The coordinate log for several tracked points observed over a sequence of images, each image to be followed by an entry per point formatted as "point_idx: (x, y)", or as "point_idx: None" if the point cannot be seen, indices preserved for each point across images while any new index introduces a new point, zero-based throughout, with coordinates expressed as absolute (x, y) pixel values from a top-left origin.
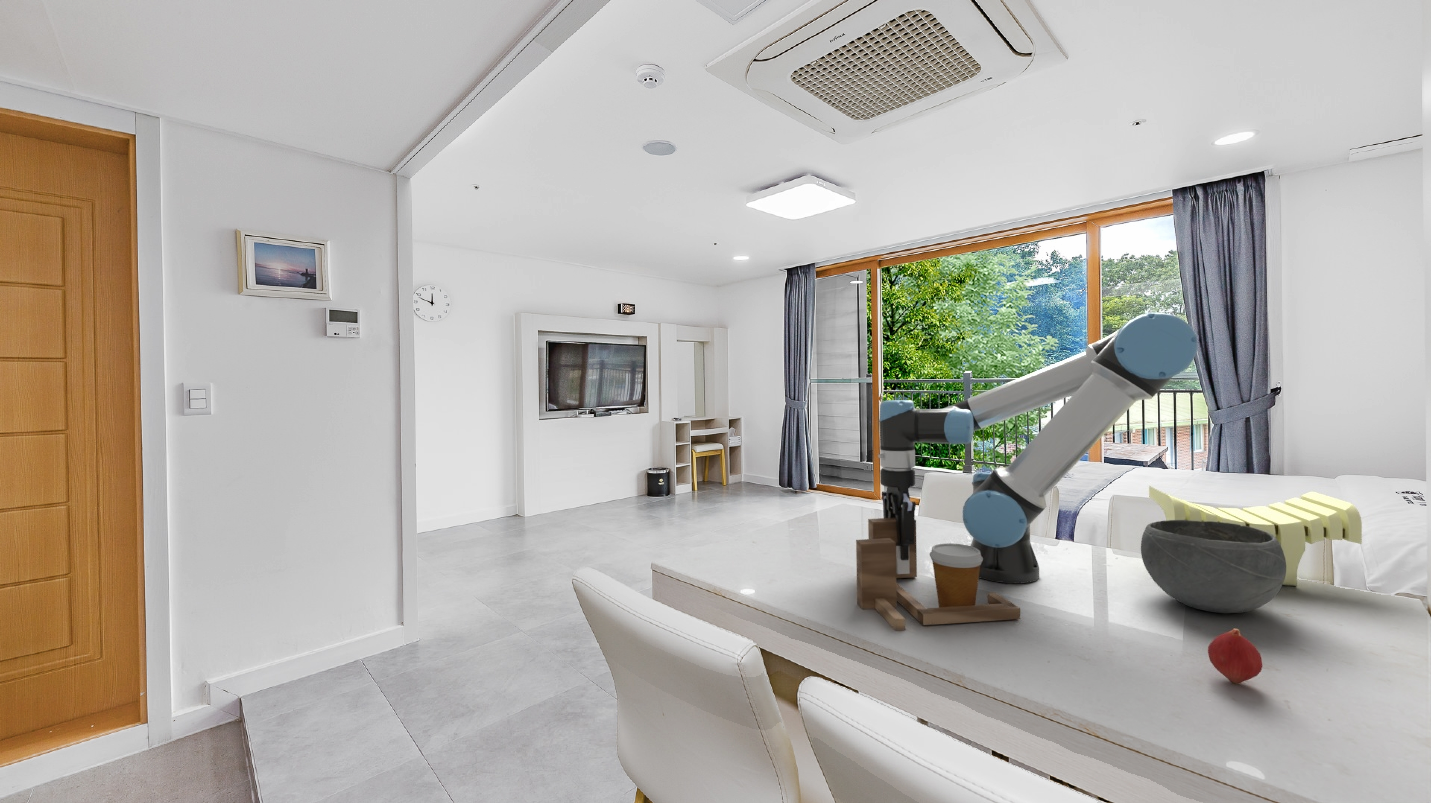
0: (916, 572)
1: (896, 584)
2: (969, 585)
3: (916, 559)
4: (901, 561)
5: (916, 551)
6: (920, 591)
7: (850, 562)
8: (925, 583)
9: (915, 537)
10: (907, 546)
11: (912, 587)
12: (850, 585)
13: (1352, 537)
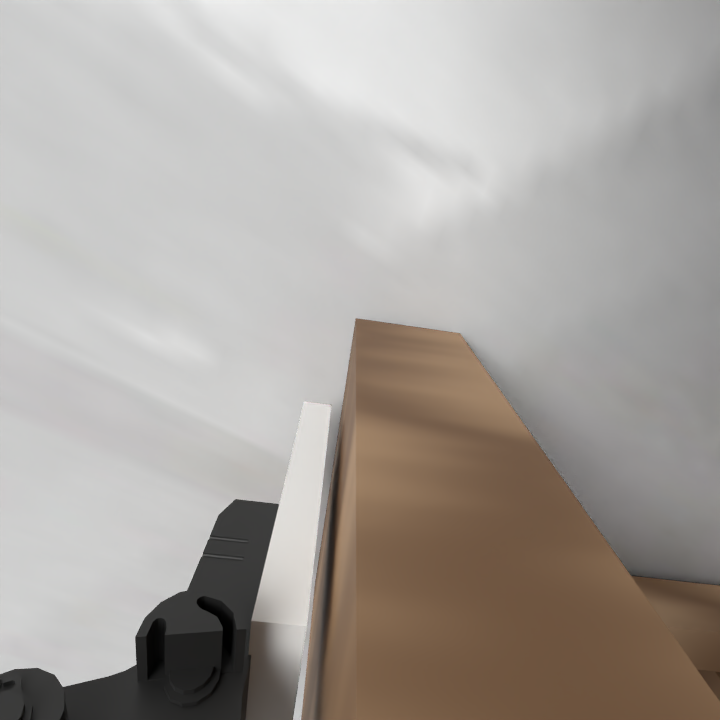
0: (468, 348)
1: (681, 636)
2: None
3: (504, 397)
4: None
5: (536, 442)
6: (667, 441)
7: (27, 562)
8: (571, 331)
9: (653, 635)
10: None
11: (588, 449)
12: None
13: None
